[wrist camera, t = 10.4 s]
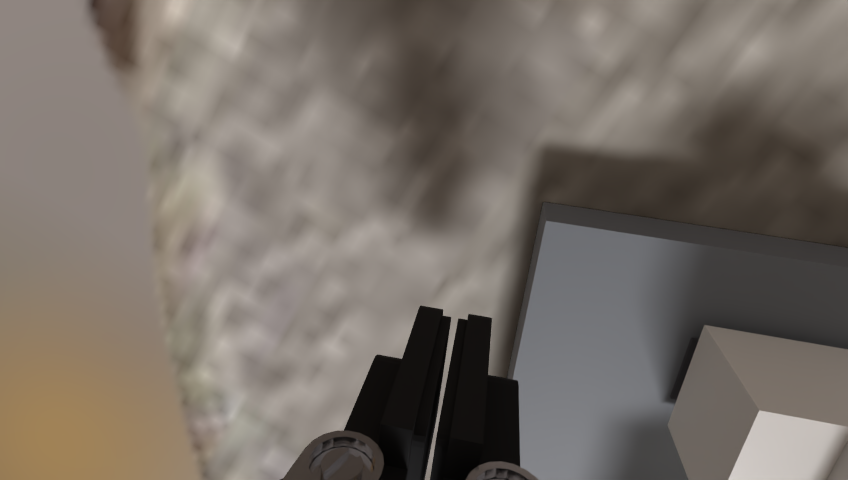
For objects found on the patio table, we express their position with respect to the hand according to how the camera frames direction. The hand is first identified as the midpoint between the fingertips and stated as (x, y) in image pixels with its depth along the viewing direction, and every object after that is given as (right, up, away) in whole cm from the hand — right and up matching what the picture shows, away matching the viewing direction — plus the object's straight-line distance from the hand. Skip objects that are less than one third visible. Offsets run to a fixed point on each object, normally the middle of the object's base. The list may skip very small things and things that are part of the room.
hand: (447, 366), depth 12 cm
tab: (+8, -1, 0) cm, 8 cm away
